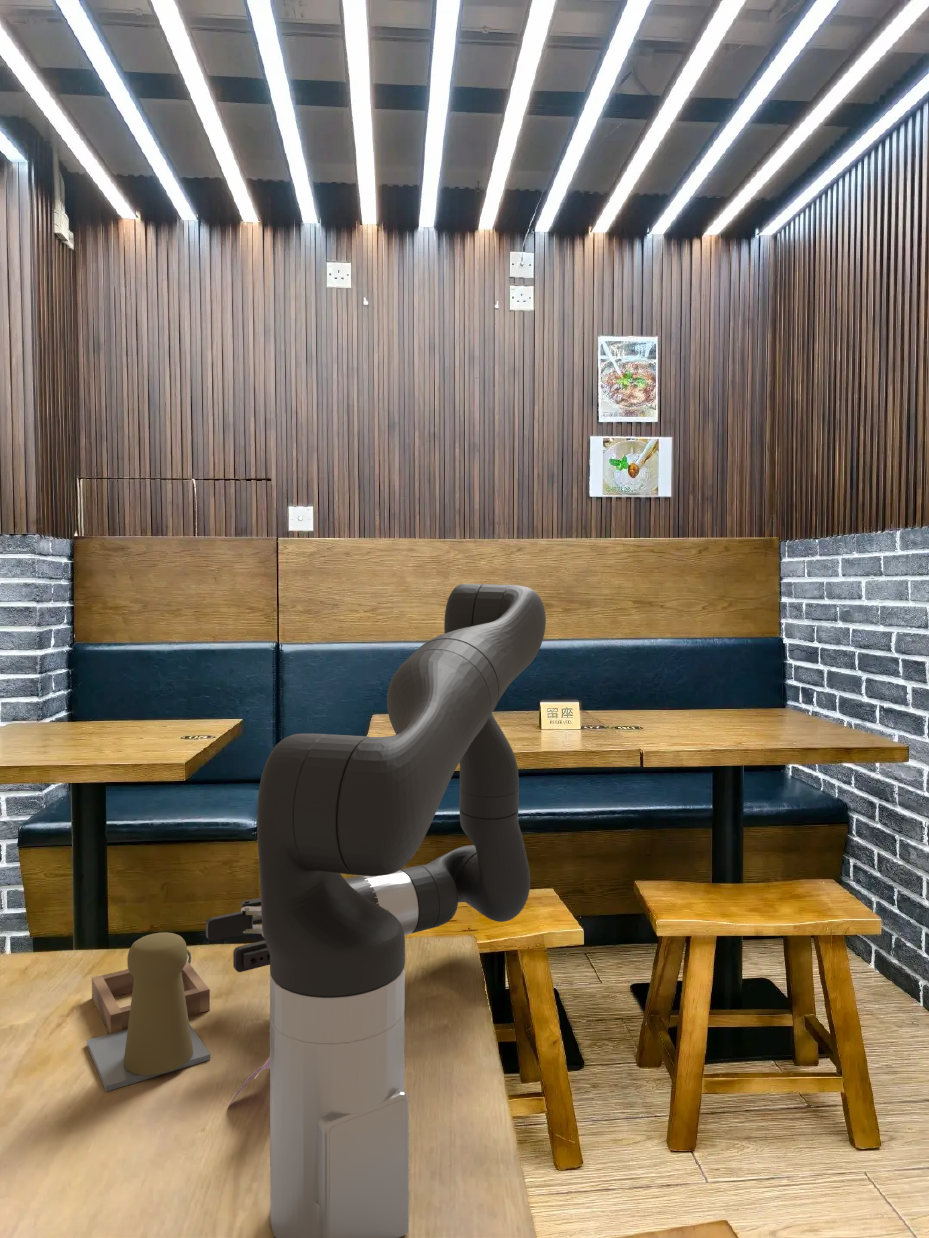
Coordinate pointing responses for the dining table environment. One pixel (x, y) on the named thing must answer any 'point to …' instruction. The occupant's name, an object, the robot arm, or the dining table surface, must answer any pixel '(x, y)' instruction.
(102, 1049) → the plate
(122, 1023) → the caddy
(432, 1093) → the dining table surface
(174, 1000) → the cork
